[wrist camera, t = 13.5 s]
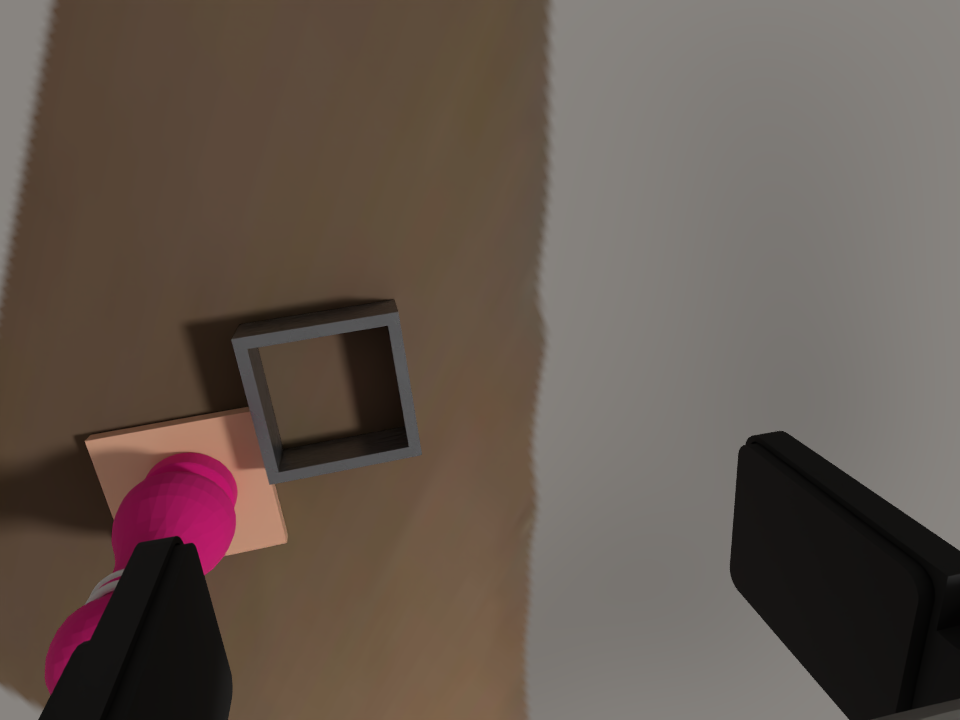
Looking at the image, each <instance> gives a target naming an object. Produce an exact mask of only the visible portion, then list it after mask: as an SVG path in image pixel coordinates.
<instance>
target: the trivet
mask: <svg viewBox="0 0 960 720" xmlns="http://www.w3.org/2000/svg"><path fill="white" fill-rule="evenodd" d="M85 443H86V446H87V449H88V451H89V454H90V457H91V460H92V462H93V465H94V468H95V470H96V473H97V476H98V479H99V481H100V484H101V487H102V490H103V492H104V495H105V498H106V500H107V503H108V506H109V509H110V511H111V514H112V517H113V519H114V518H115V515H116V513H117V511H118V508H119V506H120V504H121V502H122V501H123V499H124V497H125V496H126V495H127V494H128V492H129V491H130V490H131V489H132V488H133V487H135V486H136V485H137V484H139V483H140V482H142V481H143V480H144V479H145V478H146V476H147V474H148V473H149V471H150V470H151V469H152V468H153V467H154V466H155V465H156V464H157V463H158V462H160V461H161V460H163V459H165V458H167V457H169V456H172V455H175V454H179V453H200V454H204V455H208V456H210V457H212V458H214V459H216V460H218V461H220V462H221V463H222V464H223V465H225V466H226V467H227V468H228V470H229V471H230V472H231V473H232V475H233V477H234V479H235V481H236V484H237V490H238V495H237V501H236V504H235V507H234V510H235V514H236V529H235V534H234V536H233V539H232V542H231V544H230V546H229V548H228V550H227V552H226V554H225V555H224V556H227V555H231V554H236V553H241V552H246V551H250V550H255V549H260V548H265V547H269V546H274V545H279V544H284V543H287V539H288V533H287V529H286V526H285V522H284V518H283V514H282V510H281V506H280V502H279V499H278V495H277V491H276V487H275V484H272V485H269V481H268V478H267V474H266V470H265V466H264V462H263V459H262V455H261V451H260V447H259V443H258V440H257V436H256V432H255V428H254V424H253V421H252V417H251V413H250V409H249V407H244V408H238V409H232V410H227V411H221V412H216V413H210V414H205V415H199V416H193V417H188V418H182V419H177V420H171V421H165V422H160V423H154V424H149V425H143V426H138V427H132V428H126V429H121V430H115V431H110V432H104V433H98V434H93V435H90V436H89V437H88V438H87V439H86V441H85Z"/></svg>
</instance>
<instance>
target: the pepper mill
mask: <svg viewBox="0 0 960 720" xmlns="http://www.w3.org/2000/svg"><path fill="white" fill-rule="evenodd" d="M237 495H238V490H237V484H236V481H235V479H234V477H233V475H232V473H231V472H230V471H229V470H228V468H227V467H226V466H225V465H223V464H222V463H221V462H220V461H218V460H216V459H214V458H212V457H210V456H208V455H204V454H200V453H179V454H175V455H172V456H169V457H167V458H165V459H163V460H161V461H160V462H158V463H157V464H156V465H155V466H154V467H153V468H152V469H151V470H150V471H149V473H148V474H147V476H146V478H145V479H144V480H143V481H142V482H140V483H139V484H137V485H136V486H135V487H133V488H132V489H131V490H130V491H129V492H128V494H127V495H126V496H125V497H124V499H123V501H122V502H121V504H120V506H119V508H118V511H117V513H116V515H115V518H114V522H113V527H112V546H113V551H114V554H115V568H114V571H113V573H112V574H110V575H108V576H107V577H105V578H104V579H103V580H101V581H100V582H99V583H98V584H97V585H96V587H95V588H94V590H93V591H92V593H91V595H90V598H89V599H88V600H87V602H86V604H85V605H84V606H82V607H81V608H79V609H78V610H76V611H75V612H74V613H73V614H71V615H70V616H69V617H68V618H67V619H66V620H65V622H64V623H63V624H62V625H61V627H60V628H59V629H58V631H57V633H56V635H55V636H54V638H53V640H52V642H51V644H50V647H49V650H48V653H47V656H46V663H45V682H46V686H47V688H48V690H49V693H50V695H51V694H52V692H53V690H54V688H55V686H56V684H57V682H58V680H59V678H60V676H61V674H62V672H63V670H64V668H65V666H66V664H67V663H68V661H69V659H70V657H71V655H72V653H73V652H74V650H75V649H76V647H77V646H78V645H79V644H81V643H82V642H84V641H88V640H90V639H91V637H92V635H93V633H94V631H95V629H96V627H97V624H98V622H99V620H100V618H101V616H102V614H103V612H104V610H105V608H106V606H107V604H108V602H109V600H110V598H111V596H112V594H113V592H114V590H115V588H116V586H117V583H118V581H119V579H120V577H121V575H122V573H123V571H124V569H125V567H126V565H127V563H128V561H129V559H130V557H131V555H132V553H133V551H134V549H135V547H136V545H137V544H138V543H140V542H144V541H150V540H156V539H161V538H167V537H173V536H179V537H180V538H181V539H182V541H183V543H184V544H187V543H194V544H195V546H196V548H197V551H198V554H199V558H200V562H201V565H202V569H203V573H204V575H205V574H207V573H208V572H209V571H211V570H212V569H213V568H214V567H215V566H216V565H217V564H218V562H219V561H220V560H221V559H222V558H223V557H224V555H225V554H226V552H227V550H228V548H229V546H230V544H231V542H232V539H233V536H234V534H235V529H236V514H235V510H234V507H235V504H236V501H237Z"/></svg>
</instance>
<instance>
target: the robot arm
mask: <svg viewBox="0 0 960 720" xmlns="http://www.w3.org/2000/svg"><path fill="white" fill-rule="evenodd" d="M730 573H731V577H732V580H733V583H734V585H735V587H736V588H737V590H738V591H739V592H740V593H741V594H742V595H743V597H744V598H745V599H746V600H747V601H748V603H750V605H751V606H752V607H753V608H754V609H755V611H756V612H757V613H758V614H759V615H760V616H761V618H762V619H763V620H764V621H765V622H766V623H767V624H768V626H769V627H770V628H771V629H772V630H773V632H774V633H775V634H776V635H777V636H778V637H779V638H780V640H781V641H782V642H783V643H784V644H785V646H786V647H787V648H788V649H789V650H790V651H791V652H792V654H793V655H794V656H795V657H796V658H797V659H798V660H799V662H800V663H801V664H802V665H803V666H804V668H805V669H806V670H807V671H808V672H809V673H810V675H811V676H812V677H813V678H814V679H815V680H816V681H817V682H818V684H819V685H820V686H821V687H822V688H823V690H824V691H825V692H826V693H827V694H828V695H829V697H830V698H831V699H832V700H833V701H834V702H835V704H836V705H837V706H838V707H839V708H840V709H841V711H842V712H843V713H844V714H845V715H846V716H847V717H848V719H849V720H960V551H959V550H958V549H956V548H955V547H953V546H952V545H950V544H949V543H947V542H946V541H945V540H943V539H942V538H940V537H939V536H937V535H936V534H934V533H933V532H931V531H930V530H928V529H927V528H926V527H924V526H923V525H921V524H920V523H918V522H917V521H915V520H914V519H912V518H911V517H909V516H908V515H906V514H905V513H904V512H902V511H901V510H899V509H898V508H896V507H895V506H893V505H892V504H890V503H889V502H887V501H886V500H884V499H883V498H881V497H880V496H879V495H877V494H876V493H874V492H873V491H871V490H870V489H868V488H867V487H865V486H864V485H862V484H861V483H860V482H858V481H857V480H855V479H854V478H852V477H851V476H849V475H848V474H846V473H845V472H843V471H842V470H840V469H839V468H838V467H836V466H835V465H833V464H832V463H830V462H829V461H827V460H826V459H824V458H823V457H821V456H820V455H819V454H817V453H815V452H814V451H813V450H811V449H810V448H808V447H807V446H805V445H804V444H802V443H801V442H799V441H798V440H796V439H795V438H794V437H792V436H791V435H789V434H788V433H786V432H783V431H777V432H771V433H765V434H760V435H754V436H751V437H749V438H748V440H747V442H746V445H743V446H742V447H741V448H740V450H739V454H738V466H737V480H736V493H735V506H734V519H733V532H732V546H731V559H730ZM231 700H232V675H231V671H230V667H229V663H228V660H227V656H226V653H225V649H224V645H223V642H222V638H221V634H220V631H219V627H218V623H217V620H216V616H215V613H214V609H213V605H212V602H211V598H210V594H209V591H208V587H207V583H206V580H205V576H204V573H203V569H202V565H201V562H200V558H199V554H198V551H197V548H196V546H195V544H194V543H187V544H184V543H183V541H182V539H181V538H180V537H179V536H173V537H167V538H161V539H156V540H150V541H144V542H140V543H138V544H137V545H136V547H135V549H134V551H133V553H132V555H131V557H130V559H129V561H128V563H127V565H126V567H125V569H124V571H123V573H122V575H121V577H120V579H119V581H118V583H117V586H116V588H115V590H114V592H113V594H112V596H111V598H110V600H109V602H108V604H107V606H106V608H105V610H104V612H103V614H102V616H101V618H100V620H99V622H98V624H97V627H96V629H95V631H94V633H93V635H92V637H91V639H90V640H88V641H84V642H82V643H81V644H79V645H78V646H77V647H76V649H75V650H74V652H73V653H72V655H71V657H70V659H69V661H68V663H67V664H66V666H65V668H64V670H63V672H62V674H61V676H60V678H59V680H58V682H57V684H56V686H55V688H54V690H53V692H52V694H51V696H50V698H49V700H48V702H47V704H46V706H45V708H44V710H43V712H42V714H41V715H40V717H39V719H38V720H228V716H229V711H230V705H231Z"/></svg>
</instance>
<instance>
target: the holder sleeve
mask: <svg viewBox="0 0 960 720" xmlns="http://www.w3.org/2000/svg"><path fill="white" fill-rule="evenodd" d="M383 326H388V332H389V338H390V344H391V350H392V355H393V361H394V367H395V373H396V378H397V384H398V390H399V396H400V402H401V407H402V413H403V419H404V425H405V427H400V428H394V429H389V430H384V431H378V432H373V433H368V434H363V435H357V436H352V437H347V438H342V439H336V440H331V441H326V442H320V443H315V444H310V445H305V446H299V447H294V448H289V449H284V450H283V446H282V442H281V438H280V434H279V430H278V426H277V422H276V418H275V414H274V410H273V406H272V402H271V398H270V394H269V390H268V386H267V382H266V378H265V374H264V370H263V366H262V362H261V358H260V354H259V350H258V347H263V346H269V345H275V344H281V343H287V342H293V341H299V340H305V339H311V338H317V337H323V336H329V335H335V334H341V333H347V332H353V331H359V330H365V329H371V328H377V327H383ZM231 341H232V344H233V348H234V352H235V356H236V360H237V363H238V367H239V371H240V375H241V379H242V382H243V386H244V390H245V394H246V398H247V401H248V405H249V409H250V413H251V417H252V421H253V424H254V428H255V432H256V436H257V440H258V443H259V447H260V451H261V455H262V459H263V462H264V466H265V470H266V474H267V478H268V481H269V485H272V484H277V483H282V482H287V481H292V480H297V479H302V478H307V477H312V476H317V475H322V474H328V473H333V472H338V471H343V470H348V469H353V468H358V467H363V466H368V465H373V464H378V463H383V462H389V461H394V460H399V459H404V458H409V457H414V456H419V455H422V452H421V446H420V440H419V434H418V428H417V422H416V416H415V410H414V404H413V398H412V392H411V386H410V380H409V374H408V368H407V362H406V356H405V350H404V344H403V338H402V332H401V326H400V320H399V314H398V310H397V306H396V303H395V300H388V301H382V302H376V303H370V304H363V305H357V306H351V307H345V308H339V309H332V310H326V311H320V312H314V313H308V314H301V315H295V316H289V317H283V318H276V319H270V320H264V321H258V322H252V323H245V324H240V325H239V326H238V328H237V330H236V332H235V333H234V335H233V337H232V339H231Z"/></svg>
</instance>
